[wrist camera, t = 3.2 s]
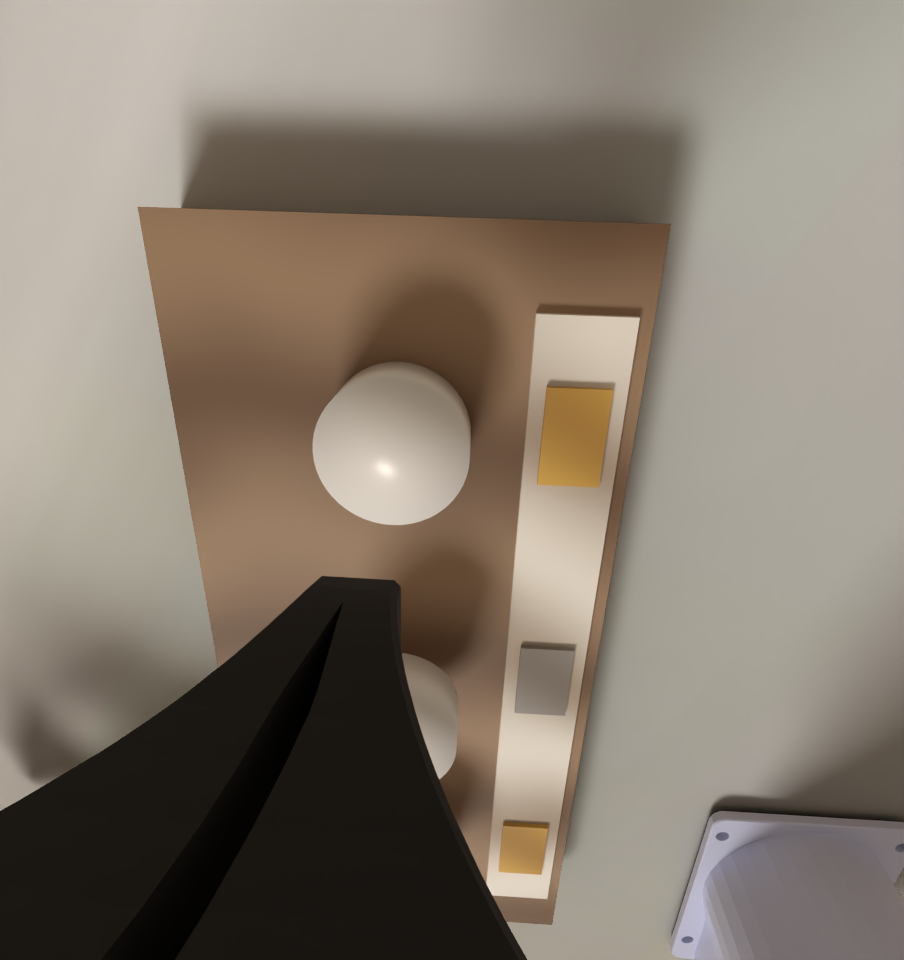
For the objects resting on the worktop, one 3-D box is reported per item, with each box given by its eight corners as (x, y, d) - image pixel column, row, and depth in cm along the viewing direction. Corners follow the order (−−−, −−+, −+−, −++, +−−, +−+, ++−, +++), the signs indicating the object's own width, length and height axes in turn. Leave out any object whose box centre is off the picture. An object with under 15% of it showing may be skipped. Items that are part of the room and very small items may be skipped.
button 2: (467, 499, 15) (466, 528, 14) (333, 493, 15) (317, 521, 14) (474, 364, 14) (473, 381, 12) (324, 358, 14) (307, 374, 12)
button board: (546, 873, 25) (552, 934, 23) (275, 855, 25) (256, 914, 23) (646, 224, 14) (675, 223, 12) (179, 209, 15) (129, 206, 13)
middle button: (456, 748, 18) (454, 795, 16) (339, 741, 18) (327, 788, 16) (460, 655, 16) (458, 699, 15) (333, 648, 16) (318, 690, 15)
